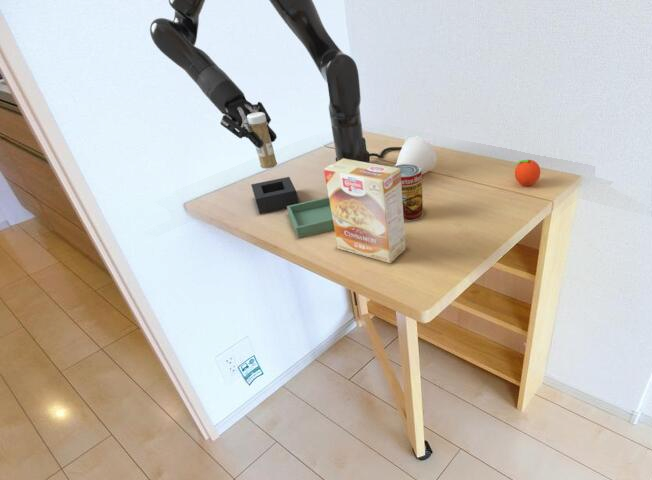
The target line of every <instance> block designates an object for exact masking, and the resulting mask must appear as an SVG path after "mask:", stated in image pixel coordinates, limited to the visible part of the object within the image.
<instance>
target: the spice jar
mask: <svg viewBox="0 0 652 480" xmlns="http://www.w3.org/2000/svg"><path fill="white" fill-rule="evenodd" d="M247 120H248V123H249V126H250V127H251V129H252V132H255V133H256V134H257V135H258V137H259V138H260V139H261V140H262V141H263V142H264V144H263V146H262V147H261V148H258V147H256V146H255V145H254V147H255V150H256V154H257V156H258V160H259V164H260V165H259V166H260V168H261V169H267V170H268V169H272V168H275V167H276V166H278V162H277V159H276V154H275V150H274V146H273V142H271V138H270V135H269V131H268V127H267V123H266V116H265V113H263V112H255V113H251V114H248V115H247Z"/></svg>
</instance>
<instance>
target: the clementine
mask: <svg viewBox="0 0 652 480" xmlns="http://www.w3.org/2000/svg"><path fill="white" fill-rule="evenodd" d="M516 164H517V165H516ZM514 165H516V167H515V169H514V179H515V180H516V182H517V183H518V184H519V185H521V186H524V187H525V186H532V185H534V184H535V183H536V182H538V180H539V178H540V176H541V168H540V165H539V164H538V163H537V162H536V161H535V160H533V159H521V160H518V161H516V162H515V163H514Z"/></svg>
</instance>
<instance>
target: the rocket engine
mask: <svg viewBox="0 0 652 480" xmlns="http://www.w3.org/2000/svg"><path fill="white" fill-rule="evenodd" d="M401 147H402V149H401V150H399V154H398V157H397V161H396V164H395V165H394V166H397V165H401V164H414V165H418V166H420V167H421V172H422V175H424V174H426V173H428V172H430V171H431V170H433V169H434V168H435V166H436V164H437V161H438V158H437V157H438V156H437V153H436V150H435V148H434V146H433V145H432V144H431V143H430V141H428V140H427V139H426V138H424V137H421V136H417V135H413V136H409V137H407V139H405V140H404V142H403V144H402V146H401Z"/></svg>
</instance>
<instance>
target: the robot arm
mask: <svg viewBox="0 0 652 480" xmlns="http://www.w3.org/2000/svg"><path fill="white" fill-rule="evenodd" d="M268 1H269V2H270V4H271V5H272V6H273V8H274V9H275V11H276V13H277V14H278V15H279V16H280V18H281V19H282V21H284V24H286V26H287V27H288V28H289V29H290V30H291V32H292V33H293V34H294V36H295V37H296V38H297V39H298V40H299V42H301V44H302V45H303V46H304V48H305V49H306V51H307V52H308V54H309V56H310V57H311V59H312V60H313V62H314V64H315V66H316V68H317V70H318V72H319V73H320V76H321V77H322V79H323V80H324V81H325V82H326V84H327V90H328V91H327V92H328V97H329V103H328V112H329V113H328V114H329V119H330V126H331V132H332V138H333V139H332V140H333V144H334V152H335V163H336V162H337V161H339V160H341V159H343V158H344V159H349V160H355V161H361V162H366V163H371V158H370V157H376V158H378V159H381V158H382V157H383V156H384V154H385V153H386V152H388V151H394V150H395V151H401V149H402V146H389V147H386V148H384V149H383V150H381V153H380V154H378V153H377V152H374V153H371V152H369V151H368V150H367V141H366V138H365V137H364V133H363V124H362V115H361V100H362V98H361V86H360V85H361V84H360V76H359V75H360V74H359V69H358V66H357V63H356V61H355V60H354V59H353V58H352V57H351V56H350V55H348V54H346V53H344V52H343V51H342V50H341V48H340V47H339V46H338V45H337V44H336V42H335V41H334V40H333V39H332V37H331V36H330V34H329V33H328V31H327V30H326V28H325V26H324V24H323V22H322V20H321V17H320V14H319V12H318V9H317V7H316V5H315V3H314V1H313V0H268ZM168 3H169V6H170V7H171V8H172V9H173V10H174V16H173V20H172V19H168V18H164V17H159V18H155V19H154V20H153V21H152V22H151V23H150V26H149V34H150V37H151V40H152V42H153V44H154V45H155V46H156V48H157V49H158V50H159V51H160V52H161V53H162V54H163V55H164V56H165V57H167V58H168V59H169V60H171V61H172V62H173V63H174V64H175V65H176V66H178V67H179V68H181V69H182V70H183V71H184V72H185V73H186V74H187V76H189V77H190V79H191V80H192V81H193V82H194V83H195V84H196V85H197V86H198V88H199V90H201V92H202V93H203V94H204V95H205V97H207V99H208V100H209V101H210V102H211V103H212V104H213V105H214V107H216V109H218V111H219V112H220V113H221V114H222V117H221V120H220V125H221V126H222V127H223V128H225V129H227V131H229V132H230V133H231V134H233V135H235V136H236V137H237V138H239V139H243V138H246V139H248V140H249V141H250V142H251V143H252V144H253V146H254V147H255V146H256V147H258V148H261V147H262V146H263V144H264V142H263V141H262V140H261V139H260V138H259V137H258V135H257V134H256V133H255V132H252V129H251V127H250V125H249V123H248V120H247V115H248V114H251V113H255V112H263V113H265V116H266V123H267V127H268V131H269V135H270V138H271V142H272V143H274V142H275V141H276V140H277V138H278V137H277V134H276V132H275V131H274V129H272V128H271V127H270V125H269V124H270V123H271V122H272V119H271V117H270V115H269V113H268V111H267V110H266V108H265V106H264V105H263V102H261V101H258V102H257V103H256V104H254V103H253V104H252V103H251V102H250V101H248V100H247V98H246V96H245V93H244V92H243V91H242V90H241V89H240V87H239V86H238V85H237V84H236V83H235V82H234V81H233V80H232V78H231V77H230V76H229V75H228V74H227V73H226V72H225V71H224V70H223V69H222V68H220V66H218V64H216V62H215V61H214V60H213V59H212V58H211V57H210V56H209V54H208V53H206V52H205V51H204V50H203V49H201V48H199V47H197V46H196V43H197V40H198V39H197V38H198V33H199V32H198V31H199V25H200V24H199V23H200V15H201V12H202V10H203V7H204V4H205V3H206V0H168ZM256 147H255V148H256Z"/></svg>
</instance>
